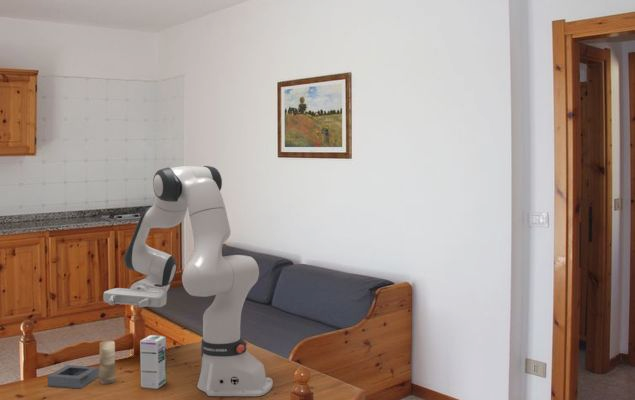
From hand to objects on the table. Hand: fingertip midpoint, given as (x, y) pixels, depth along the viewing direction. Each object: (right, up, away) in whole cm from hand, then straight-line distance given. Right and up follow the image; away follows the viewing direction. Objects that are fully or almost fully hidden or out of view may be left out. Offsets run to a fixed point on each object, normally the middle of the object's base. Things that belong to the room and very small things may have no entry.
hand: (124, 303), depth 202 cm
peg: (-2, -22, -10) cm, 24 cm away
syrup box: (+13, -23, -13) cm, 29 cm away
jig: (-12, -22, -10) cm, 27 cm away
